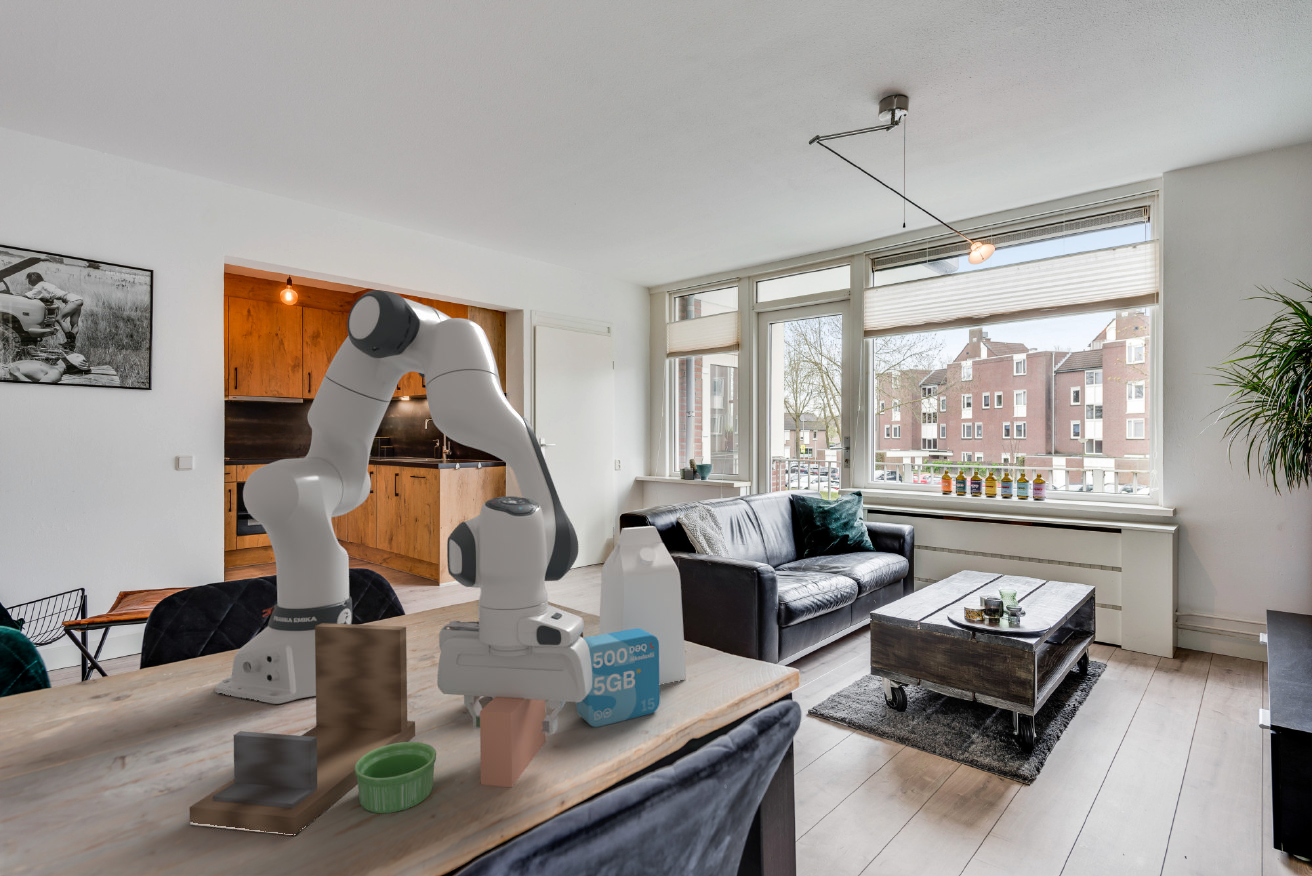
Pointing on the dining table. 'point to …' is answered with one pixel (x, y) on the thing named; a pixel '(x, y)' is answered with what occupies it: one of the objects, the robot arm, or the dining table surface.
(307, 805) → the shelf stand
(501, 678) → the robot arm
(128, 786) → the dining table surface
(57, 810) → the dining table surface
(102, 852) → the dining table surface
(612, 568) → the milk
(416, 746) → the ramekin
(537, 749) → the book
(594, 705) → the data package
